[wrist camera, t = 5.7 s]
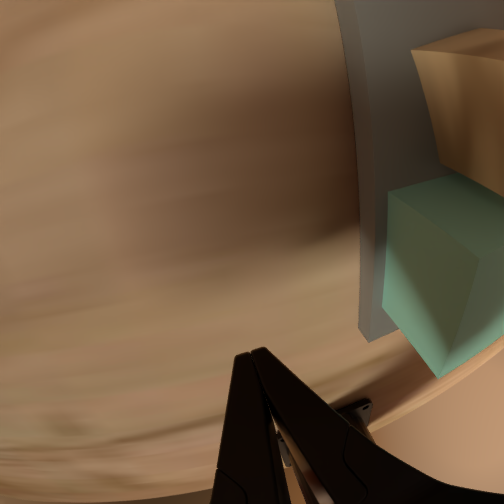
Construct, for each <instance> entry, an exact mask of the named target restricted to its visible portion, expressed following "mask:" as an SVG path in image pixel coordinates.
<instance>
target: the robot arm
mask: <svg viewBox="0 0 504 504" xmlns="http://www.w3.org/2000/svg"><path fill="white" fill-rule="evenodd" d="M251 356H252V357H251ZM252 359H253V360H252ZM261 385H262V386H261ZM262 388H263V389H262ZM263 391H264V392H263ZM268 405H269V406H268ZM372 405H373V404H372V402H371V400H370V399H369V398H367V399H364V400H362V401H359V402H357V403H355V404H353V405H350V406H348V407H346V408H343V409H341V410H339V411H335V410H334V409H333V408H332V407H330V406H329V405H328V404H327V403H326V402H325V401H324V400H322V399H321V398H320V397H319V396H318V395H317V394H316V393H315V392H314V391H312V390H311V389H310V388H309V387H308V386H307V385H306V384H305V383H304V382H302V381H301V380H300V379H299V378H298V377H297V376H296V375H295V374H294V373H293V372H292V371H290V370H289V369H288V368H287V367H286V366H285V365H284V364H283V363H282V362H281V361H280V360H279V359H278V358H277V357H275V356H274V355H273V354H272V353H271V352H270V351H269V350H268V349H267V348H266V347H260V348H257V349H254V350H252V351H251V354H250V352H245V353H241V354H238V355H236V356H235V358H234V364H233V370H232V376H231V382H230V388H229V395H228V401H227V407H226V413H225V419H224V425H223V431H222V437H221V443H220V449H219V456H218V462H217V468H218V469H216V473H215V479H214V485H213V489H212V495H211V500H210V503H209V504H291V501H290V496H289V491H288V486H287V482H286V478H285V472H284V468H283V463H282V458H283V460H284V463H285V465H286V467H290V466H292V468H293V470H294V473H295V476H296V479H297V481H298V484H299V486H300V489H301V491H302V494H303V496H304V499H305V502H306V504H504V494H499V493H492V492H485V491H480V490H474V489H469V488H463V487H458V486H454V485H449V484H446V483H444V482H441V481H438V480H436V479H434V478H432V477H430V476H428V475H426V474H424V473H422V472H421V471H419V470H417V469H415V468H414V467H412V466H410V465H408V464H407V463H405V462H403V461H401V460H400V459H398V458H396V457H395V456H393V455H391V454H390V453H388V452H387V451H385V450H384V449H382V448H380V447H379V446H378V445H376V443H375V442H374V440H373V438H372V436H371V434H370V432H369V430H368V429H367V426H368V422H369V418H370V414H371V410H372ZM269 408H270V409H269ZM270 411H271V412H270ZM271 414H272V415H271ZM272 416H273V418H272ZM273 419H274V421H275V423H276V425H277V427H278V429H279V431H280V433H278V434H276V430H275V425H274V421H273ZM280 453H281V454H280ZM281 455H282V458H281Z"/></svg>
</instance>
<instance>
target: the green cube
mask: <svg viewBox="0 0 504 504" xmlns="http://www.w3.org/2000/svg"><path fill="white" fill-rule="evenodd" d="M382 308H383V309H384V310H385V311H386V313H387V314H388V315H389V316H390V318H391V319H392V320H393V321H394V323H395V324H396V325H397V326H398V328H399V329H400V330H401V331H402V333H403V334H404V335H405V337H406V338H407V339H408V340H409V342H410V343H411V344H412V346H413V347H414V348H415V349H416V351H417V352H418V353H419V355H420V356H421V357H422V359H423V360H424V361H425V363H426V364H427V365H428V366H429V368H430V369H431V370H432V372H433V373H434V375H435V376H436V377H437V379H439V378H441V377H442V376H444V375H446V374H447V373H449V372H450V371H452V370H454V369H455V368H457V367H458V366H460V365H461V364H463V363H464V362H466V361H467V360H469V359H470V358H472V357H473V356H475V355H476V354H478V353H479V352H481V351H482V350H483V349H485V348H486V347H488V346H489V345H490V344H492V343H493V342H494V341H496V340H497V339H498V338H500V337H501V336H502V335H504V197H502V196H500V195H499V194H497V193H495V192H494V191H492V190H490V189H488V188H487V187H485V186H483V185H481V184H479V183H478V182H476V181H474V180H472V179H470V178H468V177H466V176H465V175H463V174H461V173H459V172H458V173H455V174H451V175H447V176H443V177H440V178H436V179H432V180H429V181H425V182H421V183H418V184H414V185H410V186H407V187H403V188H400V189H396V190H392V191H389V192H388V218H387V246H386V264H385V278H384V290H383V300H382Z"/></svg>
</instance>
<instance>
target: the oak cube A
mask: <svg viewBox="0 0 504 504" xmlns="http://www.w3.org/2000/svg"><path fill="white" fill-rule="evenodd" d="M411 53H412V56H413V59H414V62H415V65H416V68H417V71H418V74H419V77H420V81H421V84H422V88H423V91H424V95H425V98H426V102H427V106H428V110H429V114H430V118H431V122H432V126H433V131H434V135H435V140H436V145H437V150H438V155H439V161H440V163H441V164H443V165H445V166H447V167H449V168H451V169H453V170H455V171H457V172H459V173H461V174H463V175H465V176H466V177H468V178H470V179H472V180H474V181H476V182H478V183H479V184H481V185H483V186H485V187H487V188H488V189H490V190H492V191H494V192H495V193H497V194H499V195H500V196H502V197H504V30H497V29H487V28H479V29H475V30H471V31H468V32H464V33H461V34H458V35H454V36H451V37H448V38H445V39H441V40H438V41H435V42H432V43H429V44H426V45H423V46H421V47H418V48H415V49H412V50H411Z"/></svg>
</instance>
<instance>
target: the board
mask: <svg viewBox="0 0 504 504" xmlns="http://www.w3.org/2000/svg"><path fill="white" fill-rule="evenodd" d="M335 5H336V9H337V14H338V19H339V24H340V30H341V35H342V41H343V47H344V53H345V59H346V65H347V72H348V79H349V87H350V94H351V103H352V111H353V121H354V131H355V142H356V154H357V168H358V186H359V209H360V299H359V322H358V328H359V330H360V331H361V333H362V334H363V336H364V337H365V338H366V340H367V341H368V343H369V342H371V341H374V340H376V339H378V338H380V337H382V336H385V335H387V334H389V333H391V332H393V331H395V330H398V329H399V328H398V326H397V325H396V324H395V323H394V321H393V320H392V319H391V318H390V316H389V315H388V314H387V313H386V311H385V310H384V309H383V308H382V300H383V290H384V278H385V264H386V246H387V218H388V192H389V191H392V190H396V189H400V188H403V187H407V186H410V185H414V184H418V183H421V182H425V181H429V180H432V179H436V178H440V177H443V176H447V175H451V174H455V173H458V172H457V171H455V170H453V169H451V168H449V167H447V166H445V165H443V164H441V163H440V161H439V155H438V150H437V145H436V140H435V135H434V131H433V126H432V122H431V118H430V114H429V110H428V106H427V102H426V98H425V95H424V91H423V88H422V84H421V81H420V77H419V74H418V71H417V68H416V65H415V62H414V59H413V56H412V53H411V50H412V49H415V48H418V47H421V46H423V45H426V44H429V43H432V42H435V41H438V40H441V39H445V38H448V37H451V36H454V35H458V34H461V33H464V32H468V31H471V30H475V29H479V28H487V29H497V30H504V0H335Z"/></svg>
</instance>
